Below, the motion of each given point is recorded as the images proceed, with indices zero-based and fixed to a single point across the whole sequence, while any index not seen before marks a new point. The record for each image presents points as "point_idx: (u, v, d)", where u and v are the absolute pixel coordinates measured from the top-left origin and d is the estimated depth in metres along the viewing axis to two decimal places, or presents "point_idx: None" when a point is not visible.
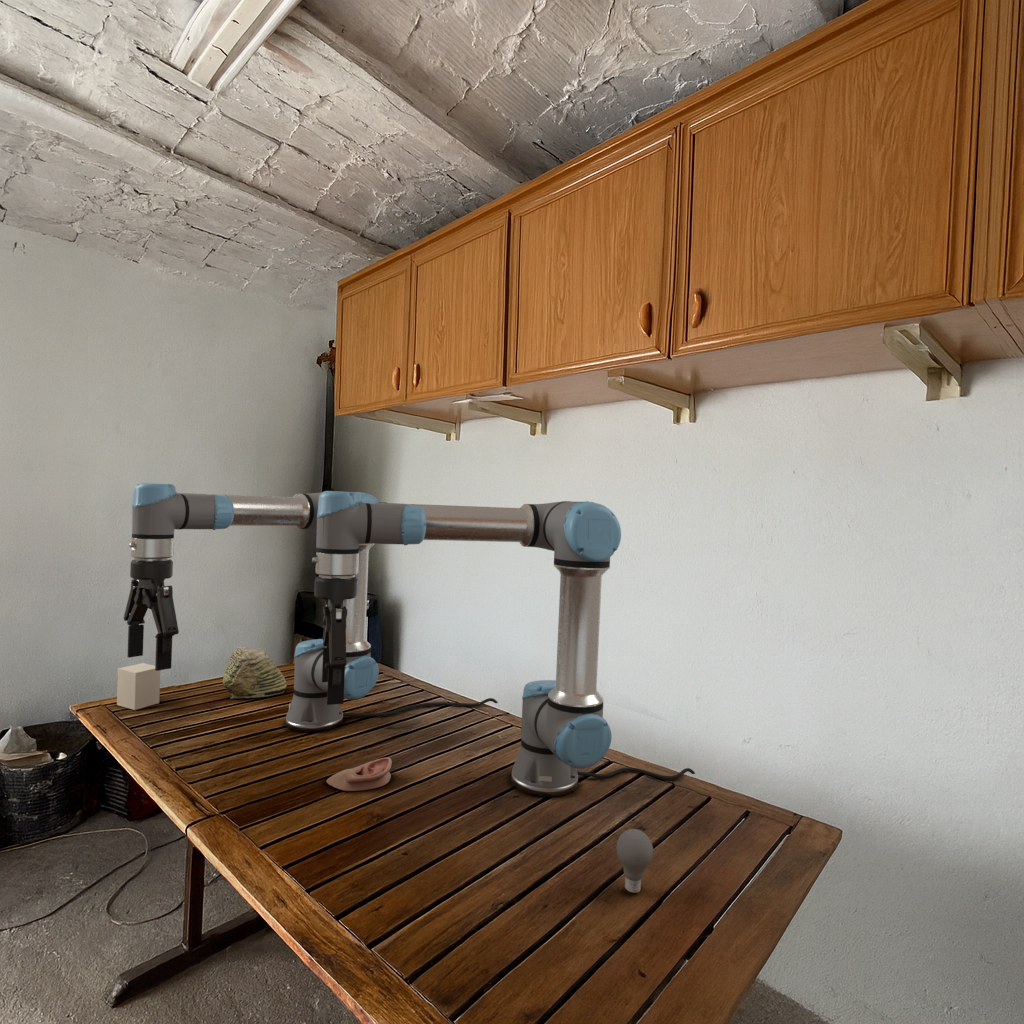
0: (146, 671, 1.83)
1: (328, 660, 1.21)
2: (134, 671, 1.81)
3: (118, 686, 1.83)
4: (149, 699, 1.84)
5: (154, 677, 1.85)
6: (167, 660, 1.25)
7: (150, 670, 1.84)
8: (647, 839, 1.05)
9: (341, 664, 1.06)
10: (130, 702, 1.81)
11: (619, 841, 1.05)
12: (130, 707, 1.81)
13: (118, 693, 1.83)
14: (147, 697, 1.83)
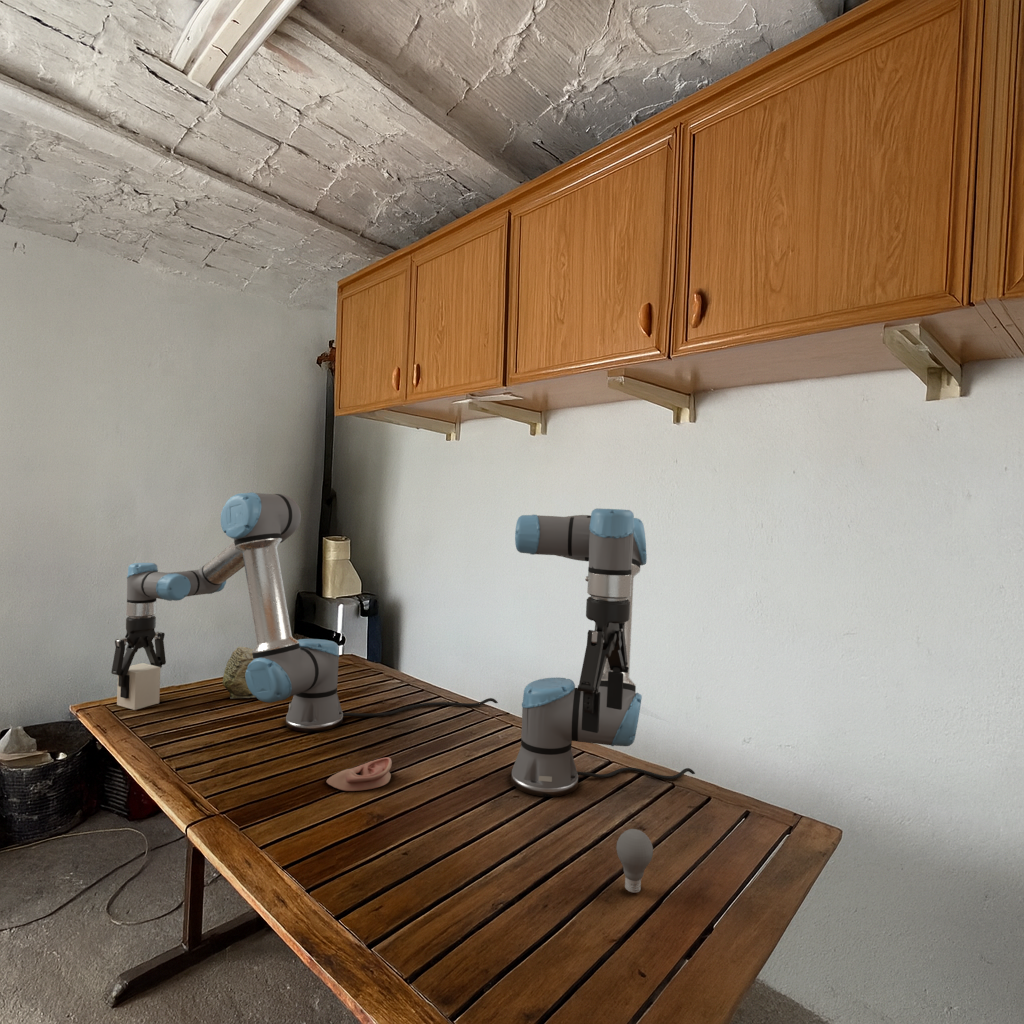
0: (146, 671, 1.83)
1: (612, 685, 1.16)
2: (134, 671, 1.81)
3: (118, 686, 1.83)
4: (149, 699, 1.84)
5: (154, 677, 1.85)
6: (124, 692, 1.81)
7: (150, 670, 1.84)
8: (647, 839, 1.05)
9: (588, 690, 1.01)
10: (130, 702, 1.81)
11: (619, 841, 1.05)
12: (130, 707, 1.81)
13: (118, 693, 1.83)
14: (147, 697, 1.83)
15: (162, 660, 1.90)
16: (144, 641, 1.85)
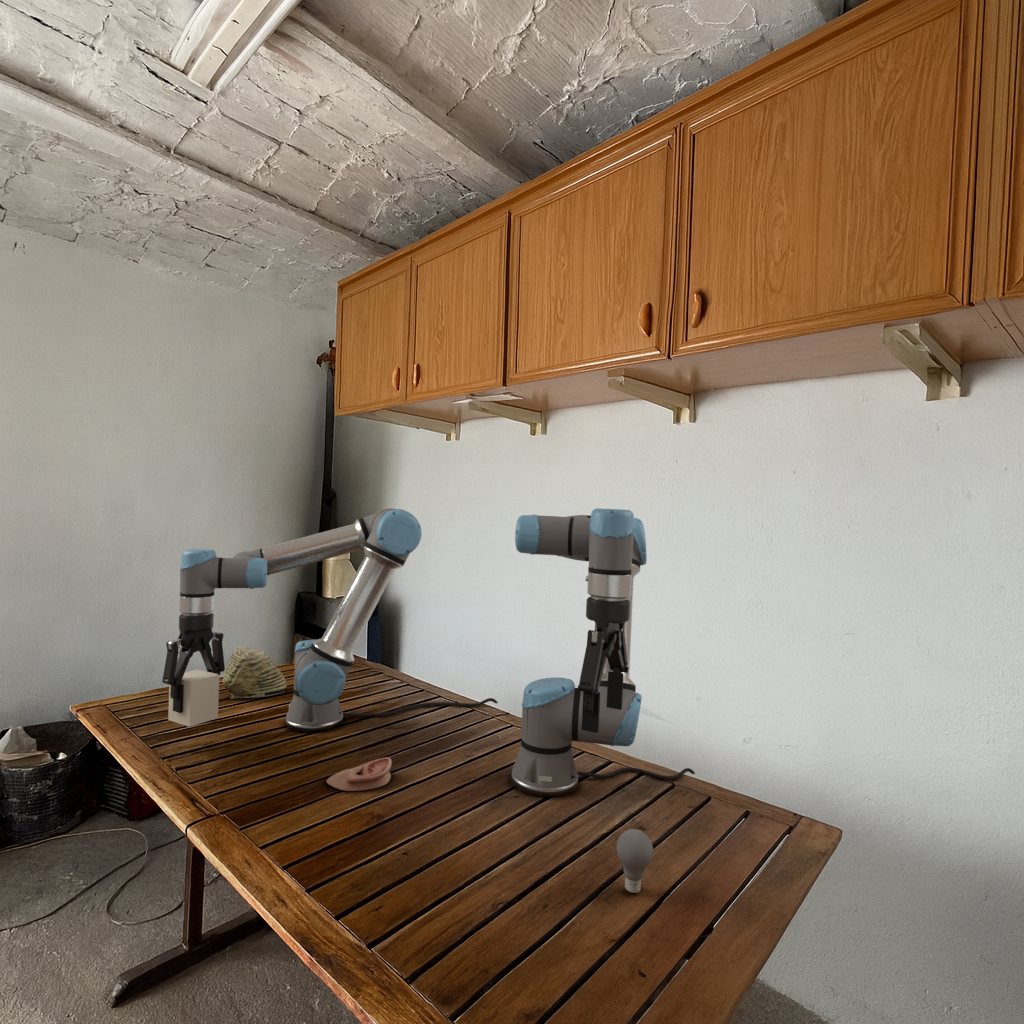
0: (203, 680, 1.51)
1: (612, 685, 1.16)
2: (189, 680, 1.50)
3: (170, 697, 1.52)
4: (206, 713, 1.52)
5: (212, 687, 1.53)
6: (178, 705, 1.49)
7: (207, 678, 1.52)
8: (647, 839, 1.05)
9: (588, 690, 1.01)
10: (184, 717, 1.49)
11: (619, 841, 1.05)
12: (184, 723, 1.49)
13: (170, 706, 1.52)
14: (204, 711, 1.52)
15: (221, 666, 1.59)
16: (200, 643, 1.53)
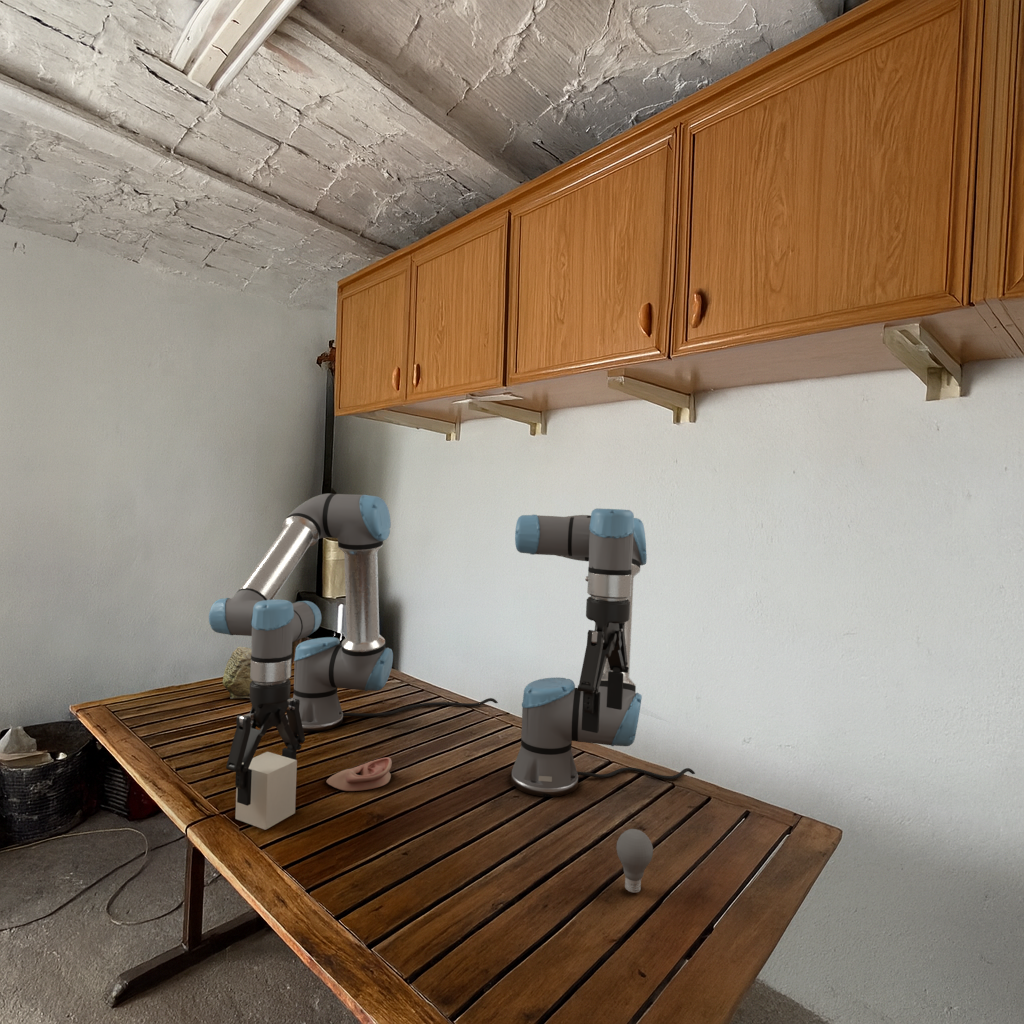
0: (280, 769, 1.22)
1: (612, 685, 1.16)
2: (264, 771, 1.21)
3: None
4: (283, 809, 1.24)
5: (290, 777, 1.25)
6: (244, 795, 1.19)
7: (285, 767, 1.24)
8: (647, 839, 1.05)
9: (588, 690, 1.01)
10: (257, 818, 1.21)
11: (619, 841, 1.05)
12: (258, 825, 1.21)
13: None
14: (280, 807, 1.23)
15: (300, 737, 1.31)
16: (275, 717, 1.24)
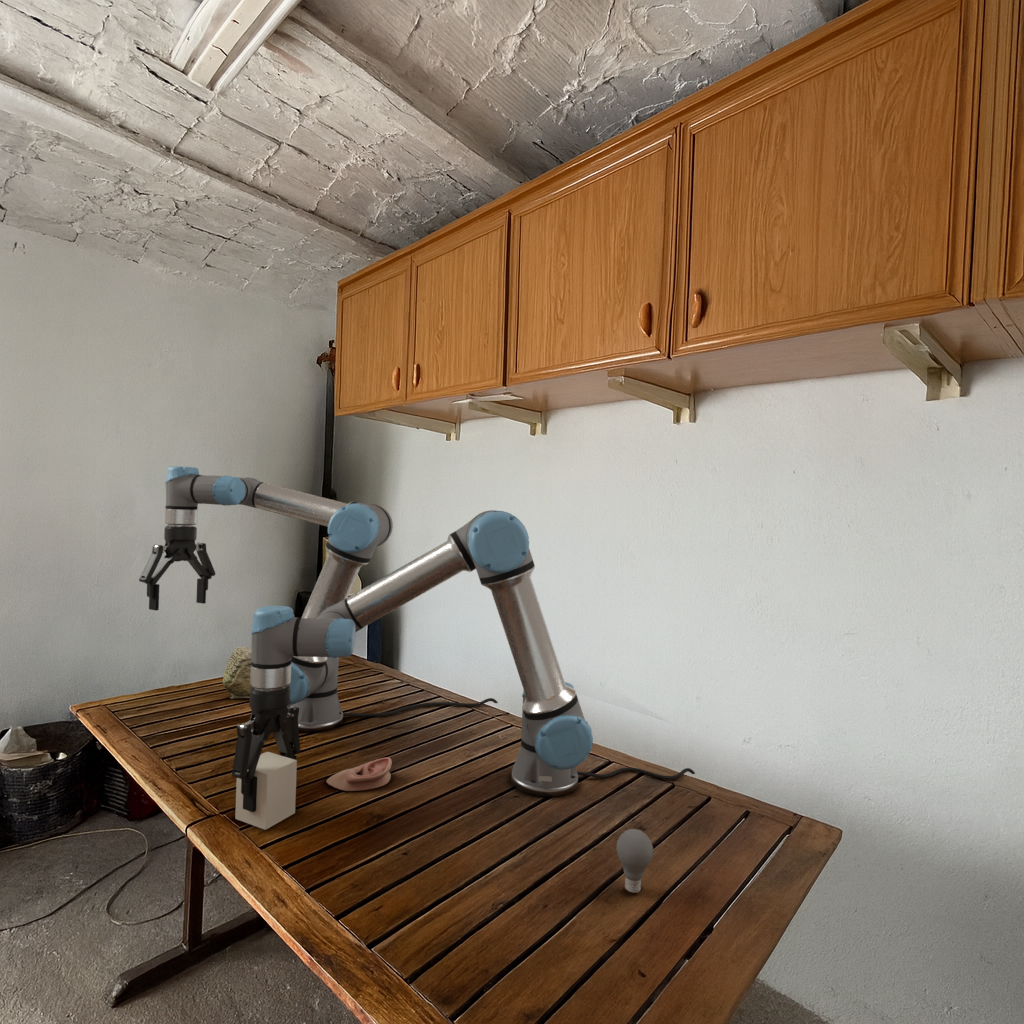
0: (280, 769, 1.22)
1: None
2: (264, 771, 1.21)
3: (237, 791, 1.23)
4: (283, 809, 1.24)
5: (289, 777, 1.25)
6: (154, 603, 1.60)
7: (285, 767, 1.24)
8: (647, 839, 1.05)
9: (238, 777, 1.18)
10: (257, 818, 1.21)
11: (619, 841, 1.05)
12: (258, 825, 1.21)
13: (238, 802, 1.23)
14: (280, 807, 1.23)
15: (211, 571, 1.74)
16: (184, 554, 1.66)
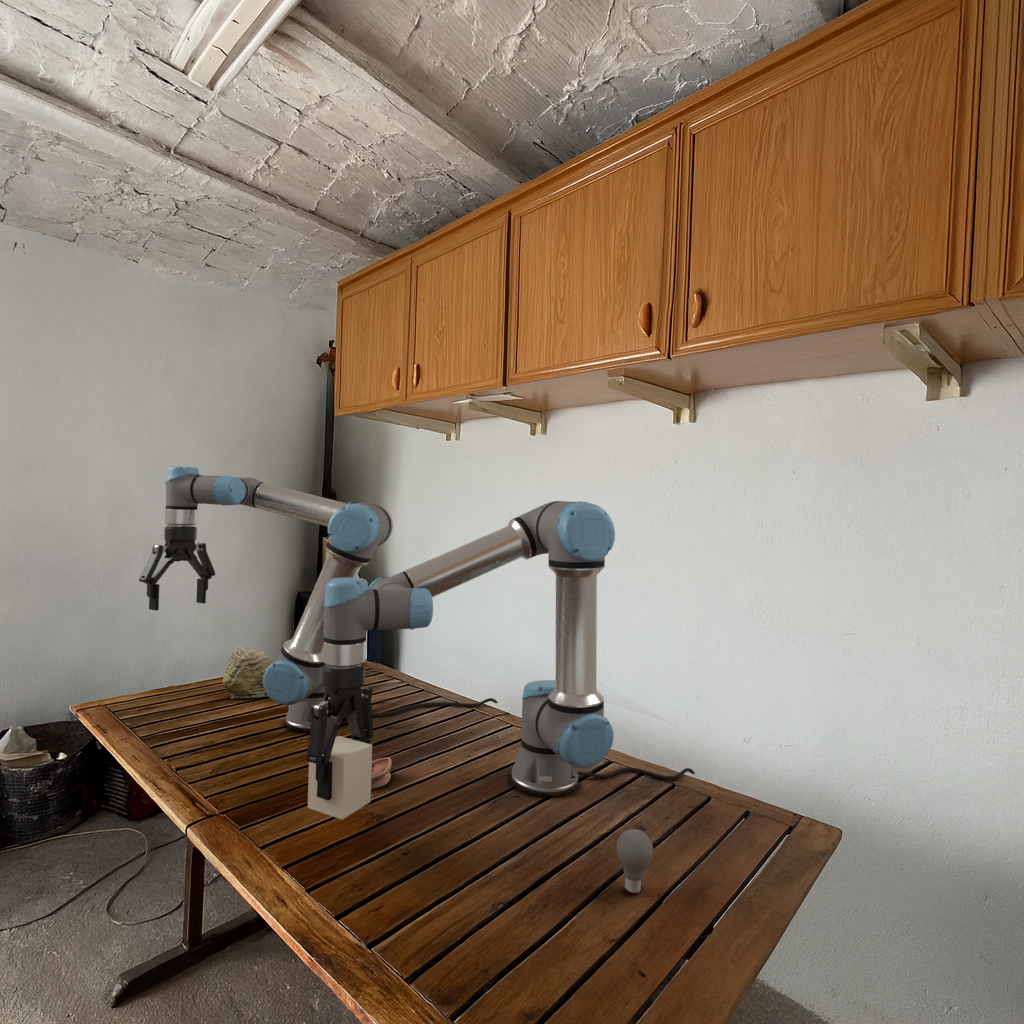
0: (356, 754, 1.13)
1: None
2: (339, 755, 1.11)
3: (310, 778, 1.13)
4: (359, 798, 1.14)
5: (365, 762, 1.15)
6: (154, 603, 1.60)
7: (360, 752, 1.14)
8: (647, 839, 1.05)
9: (313, 762, 1.08)
10: (333, 806, 1.11)
11: (619, 841, 1.05)
12: (334, 815, 1.11)
13: (310, 789, 1.13)
14: (356, 795, 1.13)
15: (211, 571, 1.74)
16: (184, 554, 1.66)
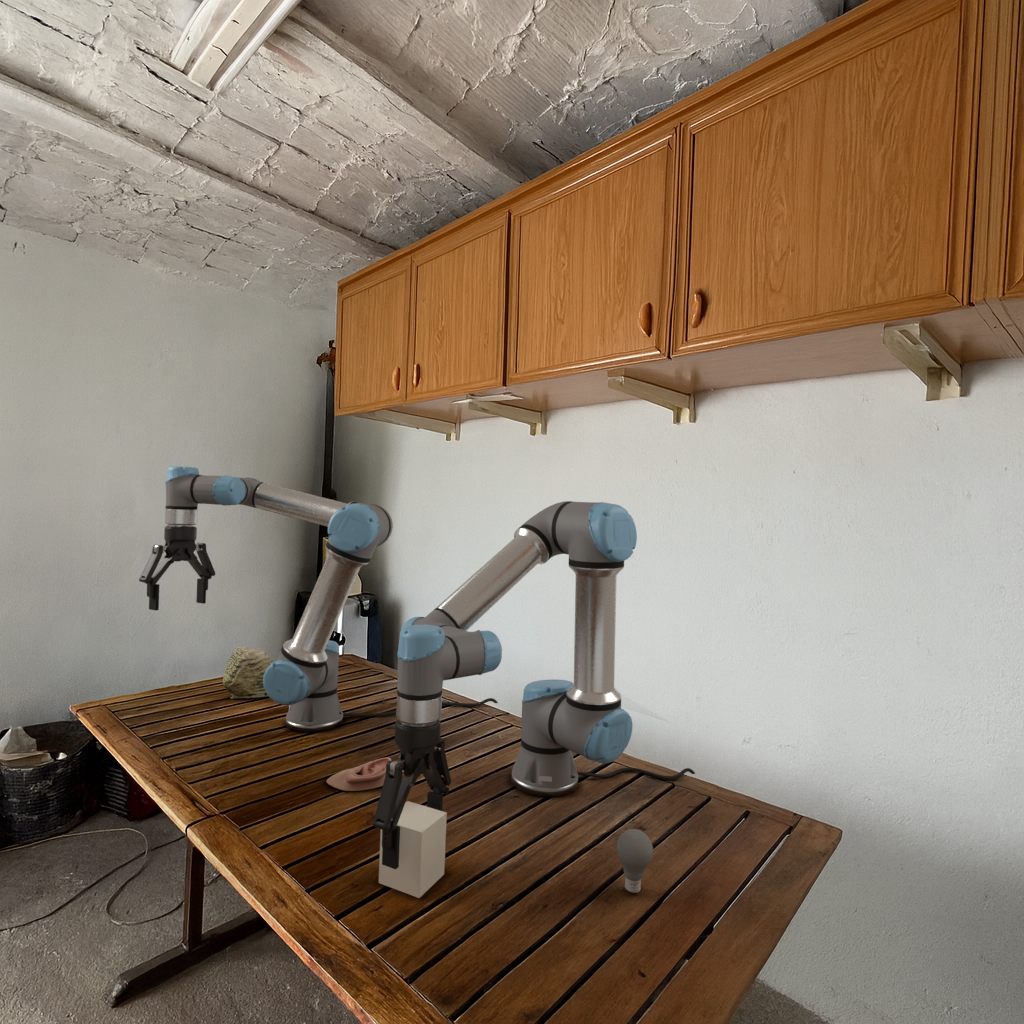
0: (432, 825, 1.04)
1: (431, 807, 1.12)
2: (416, 828, 1.02)
3: None
4: (434, 872, 1.05)
5: (440, 833, 1.06)
6: (154, 603, 1.60)
7: (436, 822, 1.05)
8: (647, 839, 1.05)
9: (381, 828, 0.97)
10: (408, 883, 1.02)
11: (619, 841, 1.05)
12: (409, 892, 1.02)
13: None
14: (432, 869, 1.05)
15: (211, 571, 1.74)
16: (184, 554, 1.66)
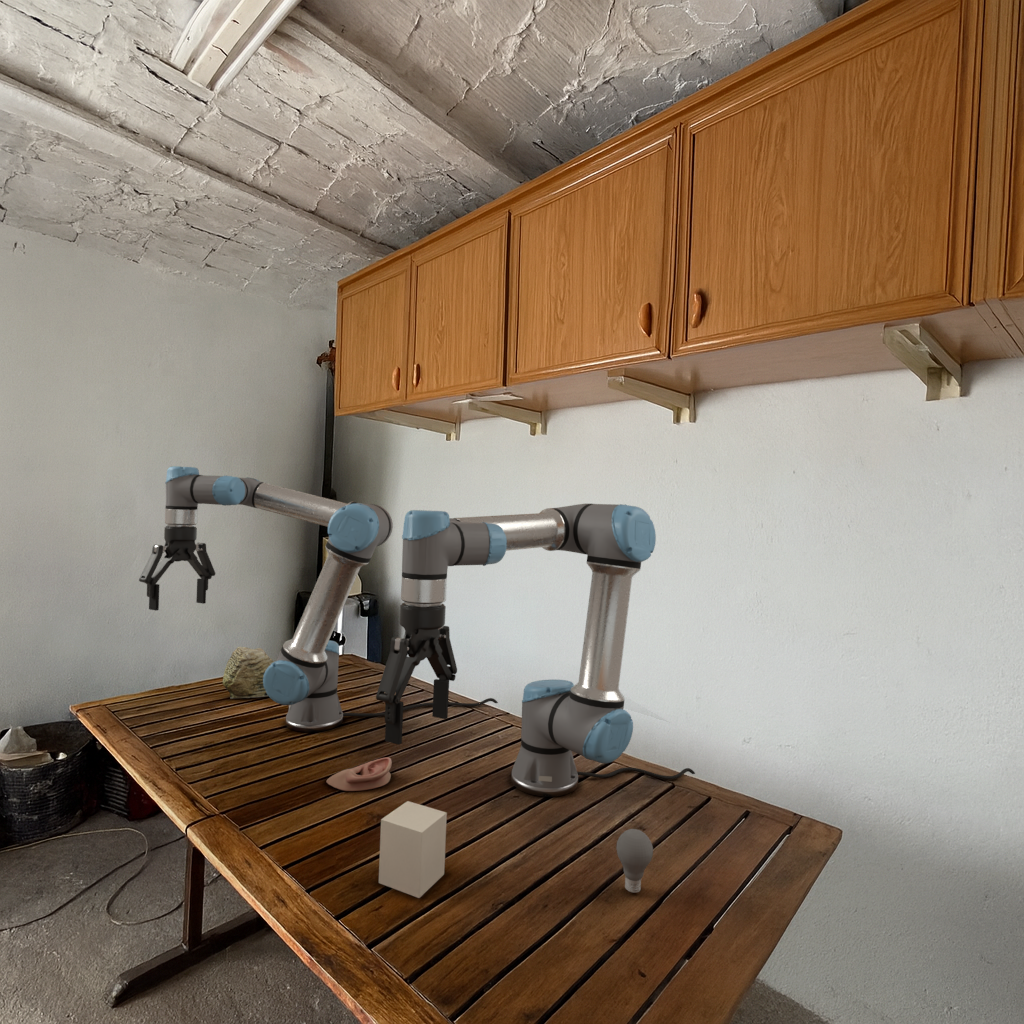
0: (432, 825, 1.04)
1: (438, 694, 1.12)
2: (416, 828, 1.02)
3: (382, 851, 1.05)
4: (434, 872, 1.05)
5: (440, 833, 1.06)
6: (154, 603, 1.60)
7: (436, 822, 1.05)
8: (647, 839, 1.05)
9: (384, 700, 0.97)
10: (408, 883, 1.02)
11: (619, 841, 1.05)
12: (409, 892, 1.02)
13: (382, 863, 1.05)
14: (432, 869, 1.05)
15: (211, 571, 1.74)
16: (184, 554, 1.66)
